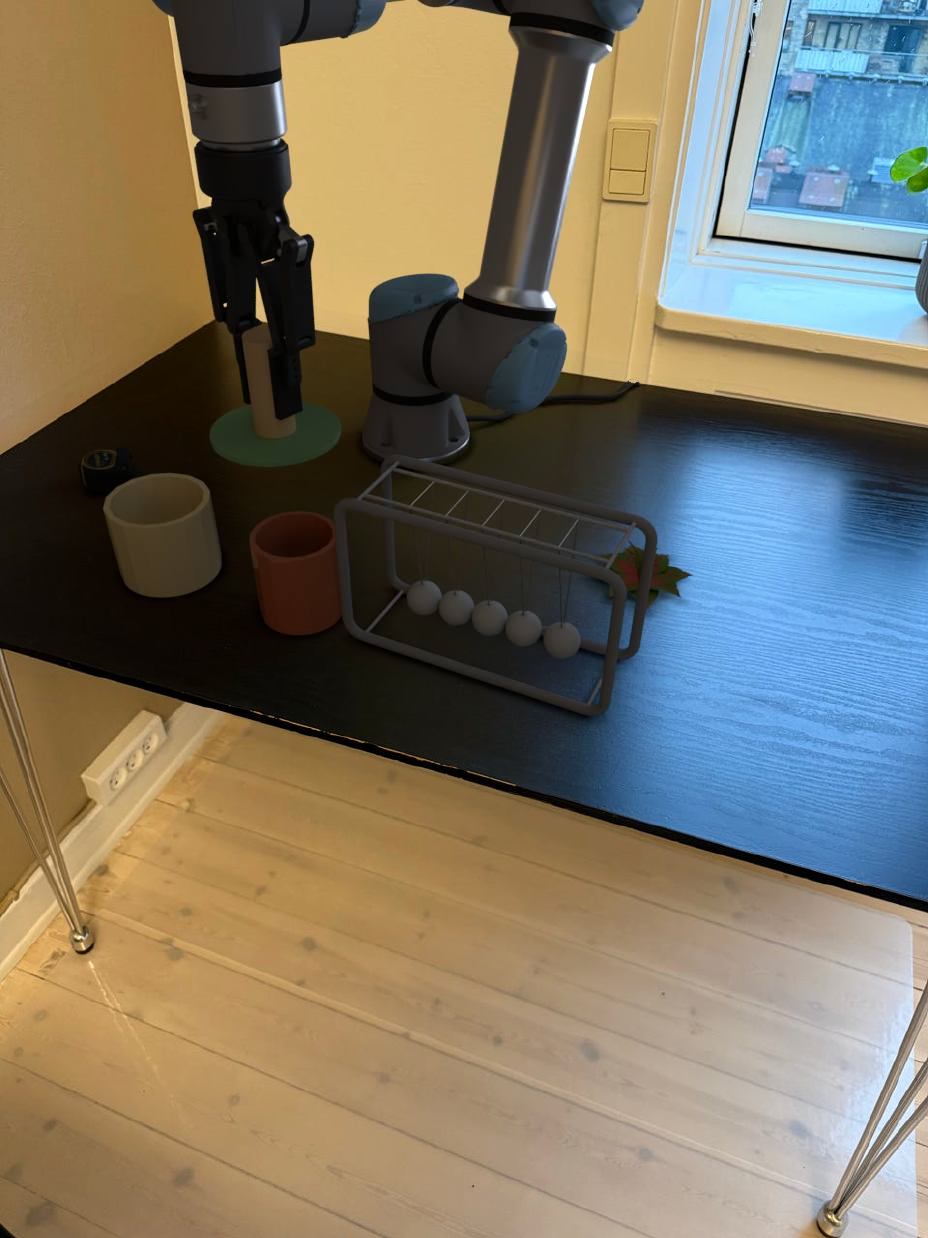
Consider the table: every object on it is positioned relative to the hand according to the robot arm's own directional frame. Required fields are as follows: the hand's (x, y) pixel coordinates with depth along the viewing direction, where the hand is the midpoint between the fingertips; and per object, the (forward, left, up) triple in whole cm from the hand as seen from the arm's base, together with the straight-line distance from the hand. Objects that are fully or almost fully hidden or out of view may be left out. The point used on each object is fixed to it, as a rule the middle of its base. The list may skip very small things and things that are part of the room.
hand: (273, 406), depth 91 cm
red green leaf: (-40, 0, -25) cm, 47 cm away
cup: (-1, 0, -25) cm, 25 cm away
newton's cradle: (-20, +10, -25) cm, 33 cm away
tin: (+14, -10, -25) cm, 30 cm away
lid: (0, 0, -3) cm, 3 cm away
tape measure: (+23, -31, -25) cm, 46 cm away
